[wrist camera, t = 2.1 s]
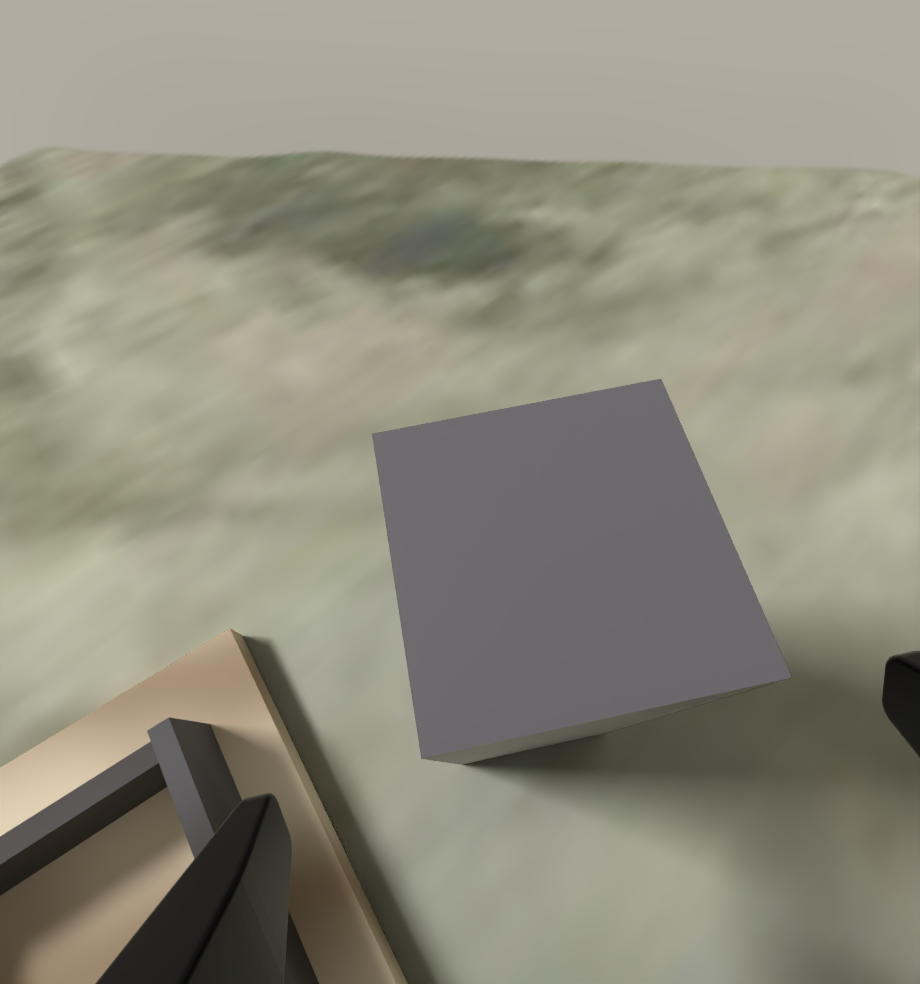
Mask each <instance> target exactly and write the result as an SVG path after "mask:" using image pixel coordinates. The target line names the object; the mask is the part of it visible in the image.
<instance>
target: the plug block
mask: <svg viewBox="0 0 920 984" xmlns="http://www.w3.org/2000/svg"><path fill="white" fill-rule="evenodd" d="M372 437H373V443H374V450H375V456H376V463H377V469H378V476H379V483H380V489H381V496H382V502H383V509H384V515H385V522H386V529H387V535H388V542H389V548H390V555H391V561H392V568H393V575H394V581H395V588H396V594H397V601H398V607H399V614H400V621H401V627H402V634H403V640H404V647H405V654H406V660H407V667H408V673H409V680H410V686H411V693H412V700H413V706H414V713H415V719H416V726H417V732H418V739H419V746H420V752H421V759H428V760H434V761H441V762H448V763H454V764H461V765H463V764H467V763H472V762H477V761H481V760H486V759H490V758H495V757H499V756H504V755H508V754H513V753H517V752H522V751H527V750H531V749H536V748H540V747H545V746H549V745H554V744H558V743H563V742H568V741H572V740H577V739H581V738H586V737H590V736H595V735H599V734H604V733H608V732H611V731H614V730H618V729H621V728H624V727H628V726H631V725H634V724H638V723H641V722H645V721H648V720H651V719H655V718H658V717H661V716H665V715H668V714H671V713H675V712H678V711H681V710H685V709H688V708H692V707H695V706H698V705H702V704H705V703H708V702H712V701H715V700H718V699H722V698H725V697H728V696H732V695H735V694H739V693H742V692H745V691H749V690H752V689H755V688H759V687H762V686H765V685H769V684H772V683H775V682H779V681H782V680H786V679H789V678H792V677H791V674H790V672H789V670H788V667H787V665H786V663H785V661H784V658H783V656H782V654H781V651H780V649H779V647H778V645H777V642H776V640H775V638H774V635H773V633H772V631H771V629H770V626H769V624H768V622H767V619H766V617H765V615H764V613H763V610H762V608H761V606H760V603H759V601H758V599H757V597H756V594H755V592H754V590H753V587H752V585H751V583H750V581H749V578H748V576H747V574H746V572H745V569H744V567H743V565H742V562H741V560H740V558H739V556H738V553H737V551H736V549H735V546H734V544H733V542H732V540H731V537H730V535H729V533H728V530H727V528H726V526H725V524H724V521H723V519H722V517H721V514H720V512H719V510H718V508H717V505H716V503H715V501H714V498H713V496H712V494H711V492H710V489H709V487H708V485H707V482H706V480H705V478H704V476H703V473H702V471H701V469H700V466H699V464H698V462H697V460H696V457H695V455H694V453H693V450H692V448H691V446H690V444H689V441H688V439H687V437H686V434H685V432H684V430H683V428H682V425H681V423H680V421H679V418H678V416H677V414H676V412H675V409H674V407H673V405H672V402H671V400H670V398H669V396H668V393H667V391H666V389H665V387H664V384H663V382H662V380H661V379H657V380H652V381H647V382H642V383H636V384H631V385H626V386H621V387H615V388H610V389H605V390H600V391H594V392H589V393H584V394H579V395H573V396H568V397H563V398H558V399H552V400H547V401H542V402H537V403H531V404H526V405H521V406H516V407H510V408H505V409H500V410H495V411H489V412H484V413H479V414H474V415H468V416H463V417H458V418H453V419H447V420H442V421H437V422H432V423H426V424H421V425H416V426H411V427H405V428H400V429H395V430H390V431H384V432H379V433H374V434H372Z"/></svg>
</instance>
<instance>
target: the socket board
mask: <svg viewBox="0 0 920 984" xmlns="http://www.w3.org/2000/svg"><path fill="white" fill-rule="evenodd" d="M265 793H272V794H274V796H275V797H276V798H277V800H278V803H279V806H280V808H281V811H282V814H283V817H284V819H285V822H286V825H287V827H288V830H289V833H290V837H291V843H292V861H291V877H290V893H289V909H288V925H287V941H286V958H285V970H284V981H283V984H408V983H407V981H406V979H405V977H404V975H403V973H402V971H401V968H400V966H399V964H398V962H397V960H396V958H395V956H394V954H393V952H392V950H391V947H390V945H389V943H388V941H387V939H386V937H385V935H384V933H383V931H382V929H381V926H380V924H379V922H378V920H377V918H376V916H375V914H374V912H373V910H372V908H371V905H370V903H369V901H368V899H367V897H366V895H365V893H364V891H363V889H362V887H361V884H360V882H359V880H358V878H357V876H356V874H355V872H354V870H353V868H352V866H351V863H350V861H349V859H348V857H347V855H346V853H345V851H344V849H343V847H342V844H341V842H340V840H339V838H338V836H337V834H336V832H335V830H334V828H333V826H332V823H331V821H330V819H329V817H328V815H327V813H326V811H325V809H324V807H323V805H322V802H321V800H320V798H319V796H318V794H317V792H316V790H315V788H314V786H313V784H312V781H311V779H310V777H309V775H308V773H307V771H306V769H305V767H304V765H303V763H302V760H301V758H300V756H299V754H298V752H297V750H296V748H295V746H294V744H293V742H292V739H291V737H290V735H289V733H288V731H287V729H286V727H285V725H284V723H283V721H282V718H281V716H280V714H279V712H278V710H277V708H276V706H275V704H274V702H273V700H272V697H271V695H270V693H269V691H268V689H267V687H266V685H265V683H264V681H263V678H262V676H261V674H260V672H259V670H258V668H257V666H256V664H255V662H254V660H253V657H252V655H251V653H250V651H249V649H248V647H247V645H246V643H245V641H244V639H243V636H242V635H241V634H239V633H237V632H235V631H234V630H232V629H228V630H227V631H225V632H223V633H222V634H220V635H218V636H217V637H215V638H213V639H212V640H210V641H208V642H207V643H205V644H203V645H202V646H200V647H199V648H197V649H195V650H194V651H192V652H190V653H189V654H187V655H185V656H184V657H182V658H180V659H179V660H177V661H175V662H174V663H172V664H171V665H169V666H167V667H166V668H164V669H162V670H161V671H159V672H157V673H156V674H154V675H152V676H151V677H149V678H147V679H146V680H144V681H143V682H141V683H139V684H138V685H136V686H134V687H133V688H131V689H129V690H128V691H126V692H124V693H123V694H121V695H119V696H118V697H116V698H114V699H113V700H111V701H110V702H108V703H106V704H105V705H103V706H101V707H100V708H98V709H96V710H95V711H93V712H91V713H90V714H88V715H86V716H85V717H83V718H82V719H80V720H78V721H77V722H75V723H73V724H72V725H70V726H68V727H67V728H65V729H63V730H62V731H60V732H58V733H57V734H55V735H53V736H52V737H50V738H49V739H47V740H45V741H44V742H42V743H40V744H39V745H37V746H35V747H34V748H32V749H30V750H29V751H27V752H25V753H24V754H22V755H21V756H19V757H17V758H16V759H14V760H12V761H11V762H9V763H7V764H6V765H4V766H2V767H1V768H0V984H95V983H96V982H97V981H98V979H99V978H100V977H101V976H102V974H103V973H104V972H105V971H106V969H107V968H108V967H109V966H110V964H111V963H112V962H113V961H114V959H115V958H116V957H117V956H118V954H119V953H120V952H121V951H122V949H123V948H124V947H125V946H126V944H127V943H128V942H129V941H130V939H131V938H132V937H133V935H134V934H135V933H136V932H137V930H138V929H139V928H140V927H141V925H142V924H143V923H144V922H145V920H146V919H147V918H148V917H149V915H150V914H151V913H152V912H153V910H154V909H155V908H156V907H157V905H158V904H159V903H160V902H161V900H162V899H163V898H164V897H165V895H166V894H167V893H168V892H169V890H170V889H171V888H172V887H173V885H174V884H175V883H176V882H177V880H178V879H179V878H180V877H181V875H182V874H183V873H184V871H185V870H186V869H187V868H188V866H189V865H190V864H191V863H192V861H193V860H194V859H195V858H196V856H197V855H198V854H199V853H200V851H201V850H202V849H203V848H204V846H205V845H206V844H207V843H208V841H209V840H210V839H211V838H212V836H213V835H214V834H215V833H216V831H217V830H218V829H219V828H220V826H221V825H222V824H223V823H224V821H225V820H226V819H227V818H228V816H229V815H230V814H231V813H232V811H233V810H234V809H235V807H236V806H237V805H238V804H239V803H240V802H241V801H242V800H243V799H245V798H247V797H252V796H256V795H261V794H265Z"/></svg>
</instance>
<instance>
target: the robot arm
mask: <svg viewBox="0 0 920 984" xmlns="http://www.w3.org/2000/svg"><path fill="white" fill-rule="evenodd" d="M882 703H883V708H884V710H885V713H886V715H887V716H888V718H889V719H890V721H891V722H892V723H893V725H894V726H895V727H896V728H897V730H898V731H899V732H900V733H901V735H902V736H903V737H904V738H905V740H906V741H907V742H908V743H909V745H910V746H911V747H912V748H913V750H914V751H915V752H916V753H917V755H918V756H919V757H920V651H912V652H907V653H903V654H898V655H894V656H892V657H890V658H889V659H888V660H887V662H886V666H885V675H884V685H883V695H882ZM291 861H292V843H291V837H290V833H289V830H288V827H287V825H286V822H285V819H284V817H283V814H282V811H281V808H280V806H279V803H278V800H277V798H276V797H275V796H274V794H272V793H265V794H261V795H256V796H252V797H247V798H245V799H243V800H242V801H241V802H240V803H239V804H238V805H237V806H236V807H235V809H234V810H233V811H232V813H231V814H230V815H229V816H228V818H227V819H226V820H225V821H224V823H223V824H222V825H221V826H220V828H219V829H218V830H217V831H216V833H215V834H214V835H213V836H212V838H211V839H210V840H209V841H208V843H207V844H206V845H205V846H204V848H203V849H202V850H201V851H200V853H199V854H198V855H197V856H196V858H195V859H194V860H193V861H192V863H191V864H190V865H189V866H188V868H187V869H186V870H185V871H184V873H183V874H182V875H181V877H180V878H179V879H178V880H177V882H176V883H175V884H174V885H173V887H172V888H171V889H170V890H169V892H168V893H167V894H166V895H165V897H164V898H163V899H162V900H161V902H160V903H159V904H158V905H157V907H156V908H155V909H154V910H153V912H152V913H151V914H150V915H149V917H148V918H147V919H146V920H145V922H144V923H143V924H142V925H141V927H140V928H139V929H138V930H137V932H136V933H135V934H134V935H133V937H132V938H131V939H130V941H129V942H128V943H127V944H126V946H125V947H124V948H123V949H122V951H121V952H120V953H119V954H118V956H117V957H116V958H115V959H114V961H113V962H112V963H111V964H110V966H109V967H108V968H107V969H106V971H105V972H104V973H103V974H102V976H101V977H100V978H99V979H98V981H97V982H96V983H95V984H283V981H284V970H285V958H286V941H287V925H288V909H289V893H290V877H291Z"/></svg>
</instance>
